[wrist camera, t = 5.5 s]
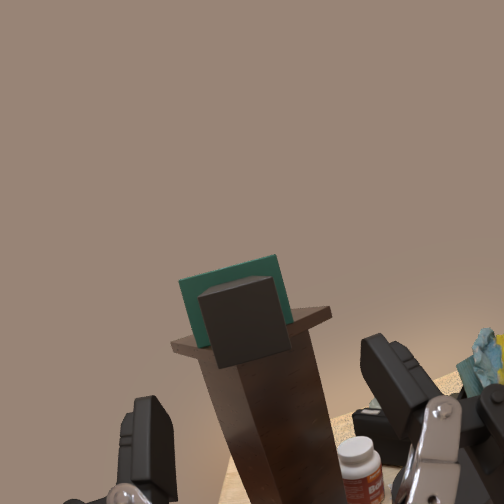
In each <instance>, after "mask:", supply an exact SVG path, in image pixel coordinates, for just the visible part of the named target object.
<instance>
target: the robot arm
mask: <svg viewBox="0 0 504 504" xmlns="http://www.w3.org/2000/svg"><path fill="white" fill-rule="evenodd" d="M360 368H361V372H362V375H363V378H364V379H365V381H366V383H367V385H368V386H369V388H370V390H371V391H372V393H373V395H374V397H375V398H376V400H377V402H378V403H379V405H380V407H381V409H382V410H383V412H384V414H385V415H386V417H387V419H388V421H389V422H390V424H391V426H392V428H393V429H394V431H395V433H396V435H397V436H398V438H399V440H402V439H404V438H406V437H409V439H410V440H411V442H412V443H411V446H410V451H409V455H408V459H407V463H406V468H405V471H404V475H403V479H402V483H401V486H400V489H399V491H398V494H397V496H396V499H395V502H394V504H454V503H455V498H456V493H457V487H458V482H459V476H460V463H459V462H458V461H457V458H458V450H459V449H461V448H464V449H465V451H466V453H467V455H468V456H469V458H470V460H471V462H472V464H473V465H474V467H475V469H476V471H477V473H478V475H479V476H480V478H481V480H482V482H483V484H484V486H485V488H486V490H487V492H488V494H489V496H490V498H491V500H492V502H493V504H504V385H502V384H498V383H494V384H490V385H488V386H486V387H485V388H484V389H483V391H482V393H481V395H478V396H474V397H469V398H465V399H455V398H453V397H451V396H447V395H444V394H442V393H441V391H440V390H439V389H438V388H437V386H436V385H435V384H434V382H433V381H432V380H431V378H430V377H429V376H428V374H427V373H426V372H425V371H424V369H423V368H422V366H420V365H419V363H418V361H417V360H416V359H415V358H414V356H413V355H412V354H411V352H410V351H409V350H408V348H407V347H405V346H403V345H402V344H400V343H399V342H397V341H394V342H391V343H389V342H388V341H387V340H386V338H385V337H384V336H383V335H382V334H381V333H378V334H375V335H372V336H370V337H367V338H364V339H362V341H361V358H360ZM120 437H121V438H120V443H119V446H120V448H119V455H118V456H119V457H118V472H117V483H116V486H114V487H113V488H111V490H110V491H109V493H108V495H107V496H106V497H104V498H101V499H98V500H96V501H92V502H89V503H84V502H82V501H80V500H78V499H70V500H68V501H66V502H64V503H63V504H169V502H177V501H178V495H177V483H176V468H175V450H174V430H173V424H172V421H171V419H170V417H169V415H168V414H167V413H166V411H165V409H164V408H163V406H162V405H161V403H160V402H159V401H158V399H157V398H156V396H154V395H152V396H146V397H140V398H136V399H135V401H134V411H133V412H132V413H127V414H126V416H125V417H124V419H123V421H122V423H121V430H120Z"/></svg>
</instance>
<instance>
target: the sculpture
mask: <svg viewBox="0 0 504 504" xmlns="http://www.w3.org/2000/svg"><path fill="white" fill-rule="evenodd" d="M472 350H473V355H472V356H470V357H469V358H467V359H465V360H464V361H462V362H460V363H459V364H457V365H456V367H457V370H458V372H459V375H460V378H461V380H462V383H463V386H464V389H465V392H466V394H467V398H469V397H474V396H478V395H481V393H482V391H483V389H484V388H485V387H486V386H488V385H490V384H494V383H498V384H502V385H504V334H503V335H496V337H495V336H494V331H493V330H491V328H483V329H481V331H480V334H479V335H478V339H476V341H475V342H474V345H473V346H472Z"/></svg>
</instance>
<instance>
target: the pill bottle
mask: <svg viewBox="0 0 504 504" xmlns="http://www.w3.org/2000/svg"><path fill="white" fill-rule="evenodd" d="M337 452H338V459H339V464H340V468H341V473H342V478H343V483H344V488H345V493H346V498H347V503H348V504H380V503H381V501H382V500H383V498H384V484H383V474H382V465H381V459H380V456H379V454H378V452H376V451H375V450H374V447H373V442H372V440H371V439H370V438H368V437H365V436H357V437H352V438H349V439H347V440H345V441H343V442H342V443H341V444H340V445H339V446H338V448H337Z"/></svg>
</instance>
